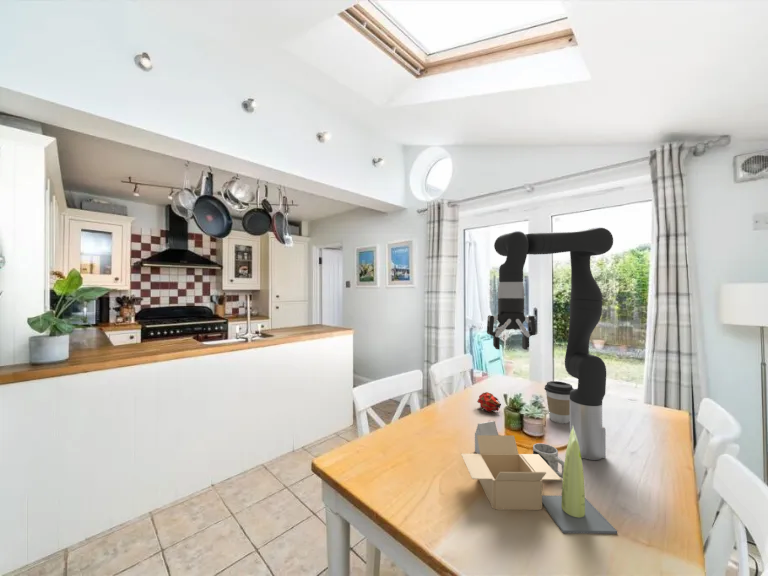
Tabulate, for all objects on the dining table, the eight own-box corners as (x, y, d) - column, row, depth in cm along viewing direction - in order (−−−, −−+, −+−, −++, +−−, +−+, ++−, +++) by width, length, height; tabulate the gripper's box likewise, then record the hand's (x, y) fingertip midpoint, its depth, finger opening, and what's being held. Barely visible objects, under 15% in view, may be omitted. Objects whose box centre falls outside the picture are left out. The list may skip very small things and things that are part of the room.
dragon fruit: (480, 408, 148) (498, 421, 138) (469, 400, 145) (487, 413, 134) (490, 393, 150) (509, 405, 139) (479, 385, 146) (498, 396, 135)
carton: (532, 472, 94) (532, 435, 94) (570, 519, 74) (570, 472, 74) (458, 471, 94) (458, 434, 94) (476, 517, 75) (476, 471, 75)
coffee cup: (575, 418, 133) (575, 383, 133) (575, 428, 124) (574, 390, 124) (545, 412, 139) (545, 378, 140) (542, 421, 130) (542, 385, 130)
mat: (583, 498, 82) (583, 495, 82) (617, 533, 70) (617, 531, 70) (537, 497, 82) (537, 495, 82) (563, 533, 70) (563, 530, 70)
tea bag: (498, 453, 105) (498, 423, 105) (481, 456, 102) (481, 426, 102) (491, 448, 108) (491, 419, 108) (474, 451, 106) (474, 421, 106)
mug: (528, 467, 96) (528, 445, 96) (543, 462, 99) (543, 441, 99) (557, 486, 87) (557, 462, 87) (573, 480, 90) (573, 457, 90)
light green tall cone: (592, 518, 74) (592, 435, 74) (575, 522, 72) (575, 437, 73) (572, 502, 79) (572, 425, 79) (556, 505, 78) (556, 427, 78)
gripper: (528, 296, 101) (528, 347, 101) (484, 296, 101) (484, 346, 101) (539, 297, 94) (539, 351, 93) (492, 297, 94) (492, 351, 94)
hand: (511, 349), depth 97 cm, fingers open, 8 cm apart
